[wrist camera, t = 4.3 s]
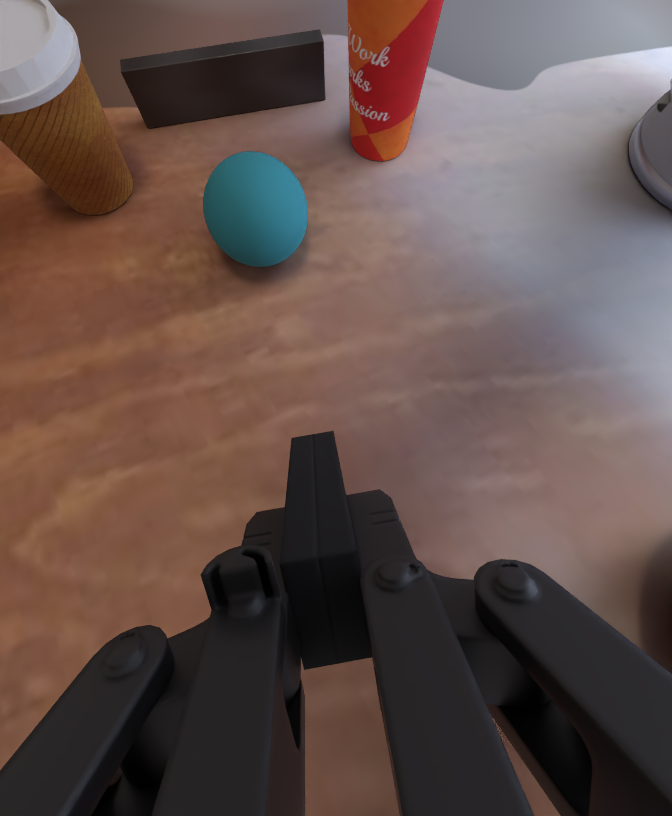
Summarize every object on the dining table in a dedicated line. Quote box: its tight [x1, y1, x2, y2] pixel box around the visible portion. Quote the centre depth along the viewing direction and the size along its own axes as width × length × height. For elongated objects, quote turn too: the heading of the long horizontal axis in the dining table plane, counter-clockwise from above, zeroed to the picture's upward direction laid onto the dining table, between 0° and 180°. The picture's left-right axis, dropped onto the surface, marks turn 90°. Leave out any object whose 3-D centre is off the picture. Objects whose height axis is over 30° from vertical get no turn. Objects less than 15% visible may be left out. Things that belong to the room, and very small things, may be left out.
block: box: [120, 30, 325, 129], centre depth 36 cm, size 18×2×5 cm, turn 103°
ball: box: [203, 151, 308, 267], centre depth 30 cm, size 8×8×8 cm
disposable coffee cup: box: [0, 0, 133, 215], centre depth 30 cm, size 10×10×12 cm
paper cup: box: [348, 0, 444, 161], centre depth 31 cm, size 8×8×14 cm
